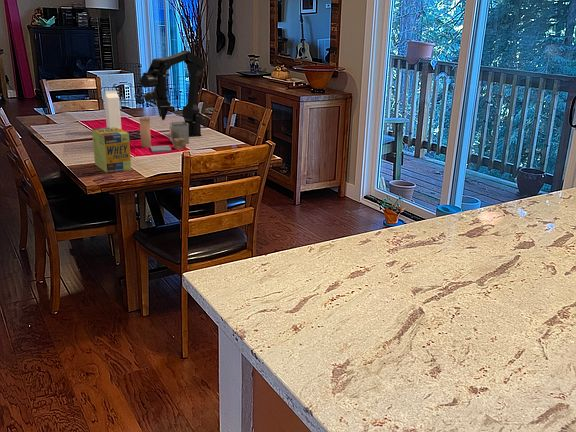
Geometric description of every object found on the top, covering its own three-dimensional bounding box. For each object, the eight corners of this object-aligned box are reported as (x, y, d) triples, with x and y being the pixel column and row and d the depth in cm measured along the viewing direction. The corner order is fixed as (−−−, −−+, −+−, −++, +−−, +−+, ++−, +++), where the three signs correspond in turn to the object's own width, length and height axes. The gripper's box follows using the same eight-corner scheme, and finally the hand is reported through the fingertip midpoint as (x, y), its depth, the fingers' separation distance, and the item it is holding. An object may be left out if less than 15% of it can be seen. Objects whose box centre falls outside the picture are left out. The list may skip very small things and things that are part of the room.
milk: (121, 133, 294) (118, 91, 287) (110, 134, 291) (106, 91, 283) (118, 131, 299) (115, 89, 291) (106, 132, 296) (103, 90, 288)
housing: (186, 139, 285) (185, 121, 281) (188, 143, 278) (188, 124, 274) (169, 140, 282) (168, 121, 279) (171, 144, 275) (171, 124, 272)
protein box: (107, 173, 225) (103, 135, 220) (94, 164, 237) (91, 128, 231) (132, 170, 231) (129, 133, 226) (118, 161, 243) (115, 126, 237)
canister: (150, 145, 272) (149, 117, 267) (151, 147, 268) (150, 118, 263) (140, 145, 271) (138, 117, 266) (141, 147, 266) (139, 119, 262)
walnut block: (182, 146, 271) (181, 137, 269) (185, 148, 267) (185, 139, 266) (173, 147, 268) (172, 138, 267) (177, 149, 265) (176, 140, 263)
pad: (169, 146, 270) (169, 145, 269) (171, 151, 262) (171, 149, 261) (150, 147, 267) (150, 146, 266) (152, 152, 259) (152, 150, 258)
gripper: (141, 83, 274) (143, 115, 279) (145, 88, 257) (147, 122, 262) (164, 83, 277) (165, 114, 282) (169, 88, 261) (171, 121, 266)
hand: (162, 118), depth 273 cm, fingers open, 9 cm apart
